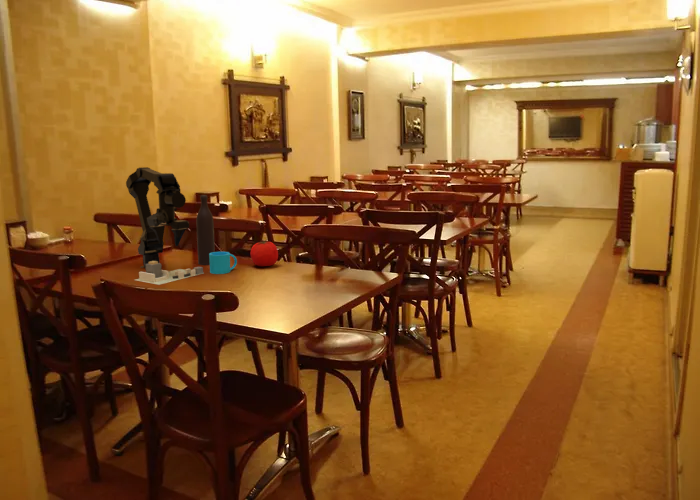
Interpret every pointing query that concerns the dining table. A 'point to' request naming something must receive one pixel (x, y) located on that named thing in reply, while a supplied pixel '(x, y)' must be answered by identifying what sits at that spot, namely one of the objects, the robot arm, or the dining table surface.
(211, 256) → the mug
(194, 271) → the clamp and clips
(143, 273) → the holder
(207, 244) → the wine bottle
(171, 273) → the board
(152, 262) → the block
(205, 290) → the dining table surface
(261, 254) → the tomato
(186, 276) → the cable
